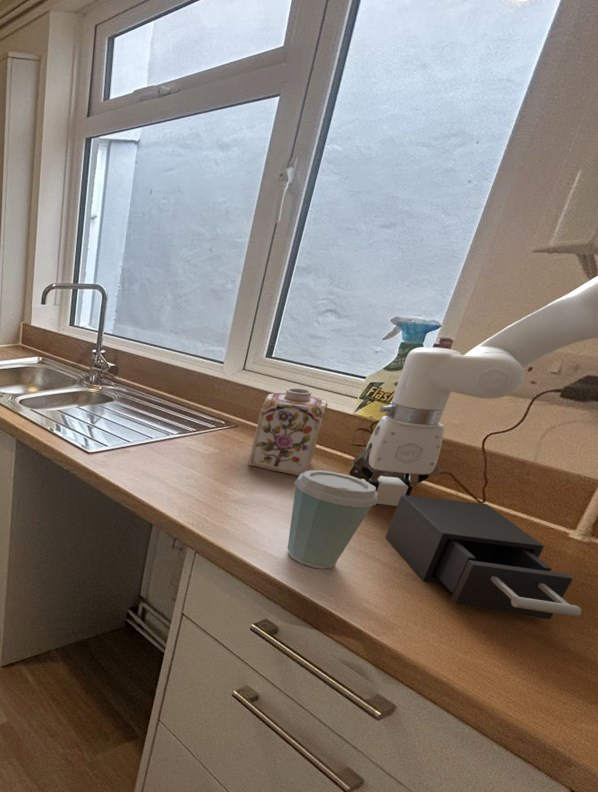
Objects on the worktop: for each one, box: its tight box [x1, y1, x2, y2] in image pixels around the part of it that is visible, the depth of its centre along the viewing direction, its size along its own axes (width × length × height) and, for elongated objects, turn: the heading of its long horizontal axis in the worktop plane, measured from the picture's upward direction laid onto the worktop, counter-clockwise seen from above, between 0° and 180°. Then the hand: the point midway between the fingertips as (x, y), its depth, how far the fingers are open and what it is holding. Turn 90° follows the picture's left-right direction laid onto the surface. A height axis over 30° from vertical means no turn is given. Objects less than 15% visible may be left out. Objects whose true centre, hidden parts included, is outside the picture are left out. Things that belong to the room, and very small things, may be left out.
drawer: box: [433, 538, 582, 620], centre depth 75 cm, size 19×10×7 cm, turn 161°
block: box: [376, 475, 408, 507], centre depth 106 cm, size 4×4×4 cm
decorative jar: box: [247, 387, 329, 477], centre depth 121 cm, size 12×12×18 cm
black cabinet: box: [385, 495, 545, 585], centre depth 84 cm, size 14×12×9 cm
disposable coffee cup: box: [287, 469, 378, 570], centre depth 85 cm, size 11×11×15 cm
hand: (383, 498), depth 107 cm, fingers closed on block, 4 cm apart
